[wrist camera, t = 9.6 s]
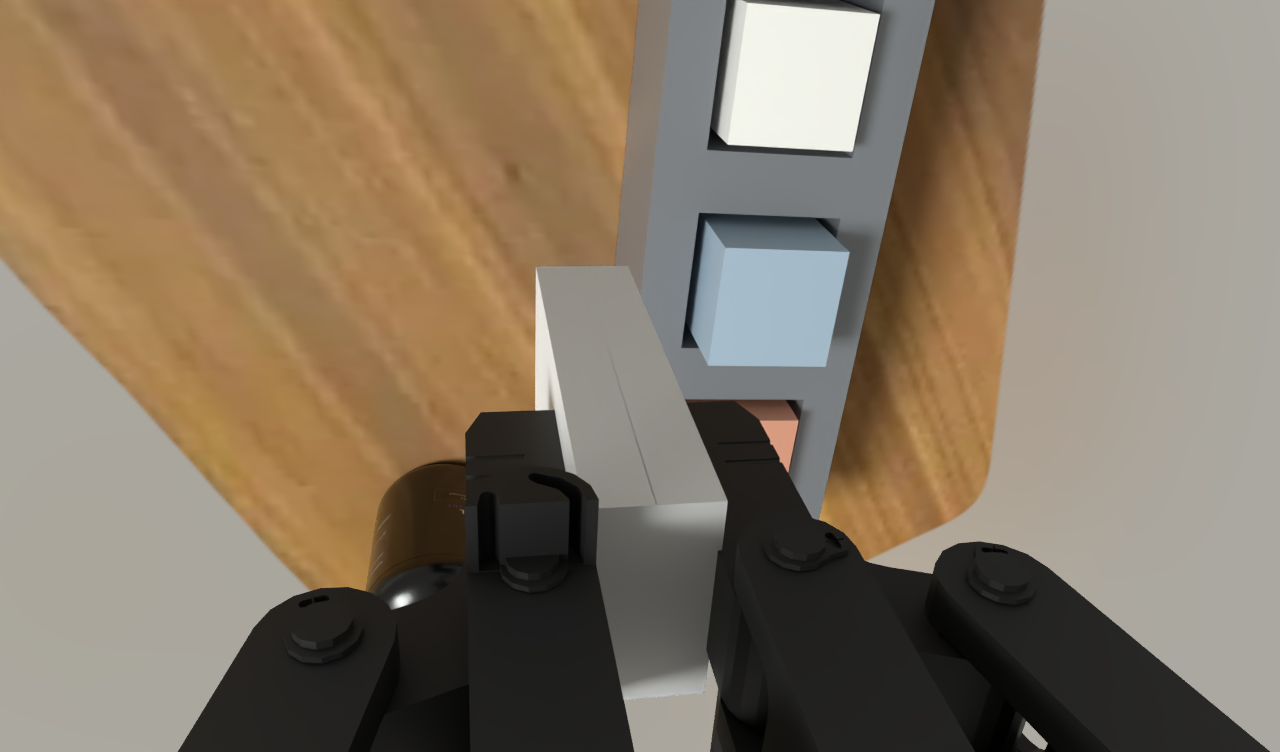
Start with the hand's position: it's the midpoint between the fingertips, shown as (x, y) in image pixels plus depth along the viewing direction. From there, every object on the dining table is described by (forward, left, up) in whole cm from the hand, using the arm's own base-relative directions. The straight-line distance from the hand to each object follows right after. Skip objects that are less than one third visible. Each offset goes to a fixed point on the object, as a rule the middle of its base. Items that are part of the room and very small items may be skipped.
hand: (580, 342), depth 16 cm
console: (+7, +10, -28) cm, 31 cm away
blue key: (+7, +10, -24) cm, 27 cm away
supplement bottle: (+23, -3, -28) cm, 37 cm away
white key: (-1, +10, -25) cm, 27 cm away
